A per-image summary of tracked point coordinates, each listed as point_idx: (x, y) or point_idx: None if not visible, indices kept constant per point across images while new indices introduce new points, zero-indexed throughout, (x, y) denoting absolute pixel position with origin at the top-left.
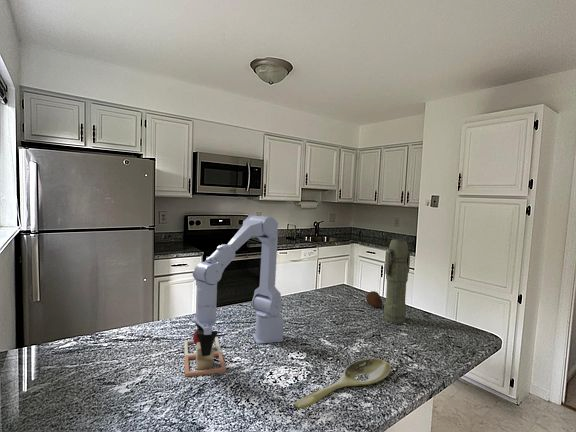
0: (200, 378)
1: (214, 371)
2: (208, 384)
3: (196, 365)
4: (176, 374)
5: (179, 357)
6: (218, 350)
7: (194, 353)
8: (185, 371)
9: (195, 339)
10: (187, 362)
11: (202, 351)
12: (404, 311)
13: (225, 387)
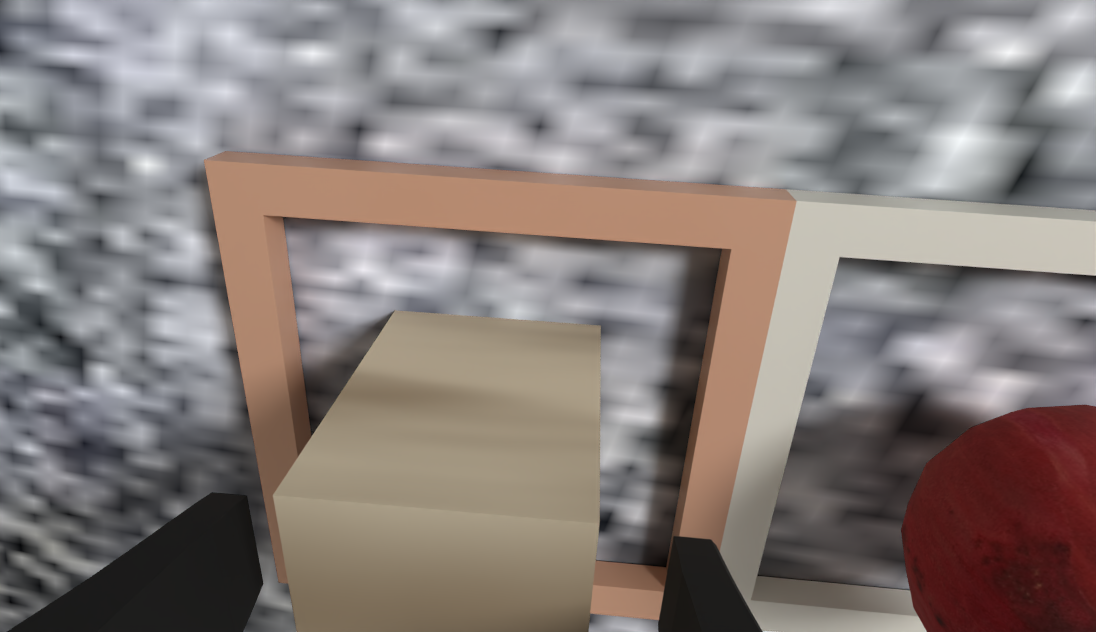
0: (179, 322)
1: (268, 480)
2: (55, 379)
3: (492, 320)
4: (304, 34)
5: (846, 111)
6: (753, 608)
7: (799, 345)
8: (272, 170)
9: (1045, 472)
10: (539, 221)
11: (141, 554)
12: None
13: (10, 502)
